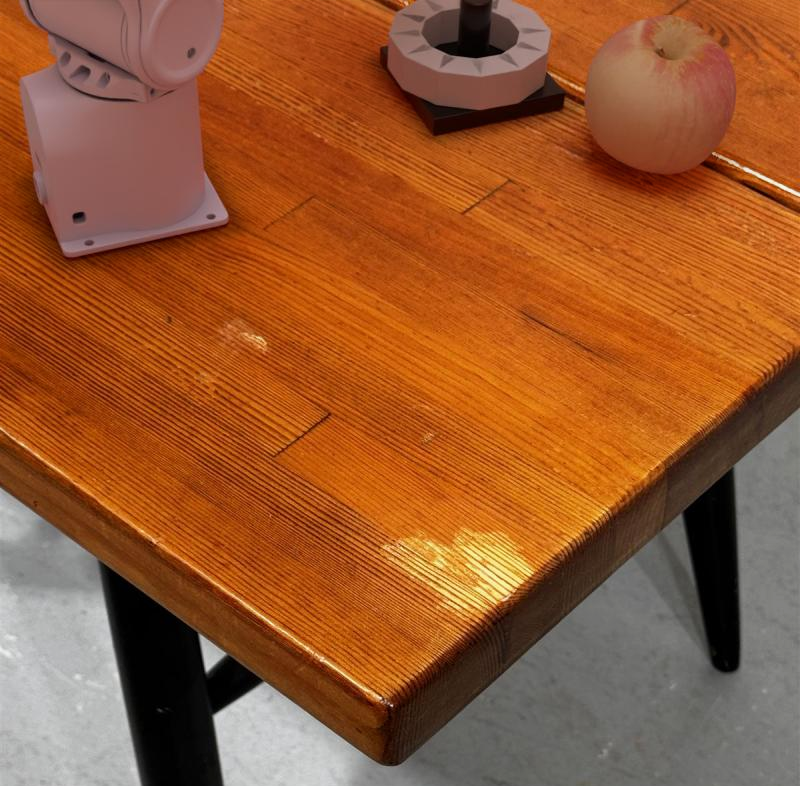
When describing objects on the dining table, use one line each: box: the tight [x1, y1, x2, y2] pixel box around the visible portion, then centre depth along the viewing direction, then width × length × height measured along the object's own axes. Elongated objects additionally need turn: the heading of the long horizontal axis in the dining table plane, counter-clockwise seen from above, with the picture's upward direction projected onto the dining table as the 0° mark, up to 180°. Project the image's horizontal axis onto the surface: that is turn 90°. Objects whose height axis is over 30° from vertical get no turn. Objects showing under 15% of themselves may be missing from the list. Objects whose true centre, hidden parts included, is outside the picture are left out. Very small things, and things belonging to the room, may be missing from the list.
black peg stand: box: [379, 0, 566, 136], centre depth 92 cm, size 9×9×6 cm
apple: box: [583, 14, 737, 175], centre depth 86 cm, size 9×9×8 cm
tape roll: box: [387, 0, 552, 110], centre depth 92 cm, size 10×10×2 cm
